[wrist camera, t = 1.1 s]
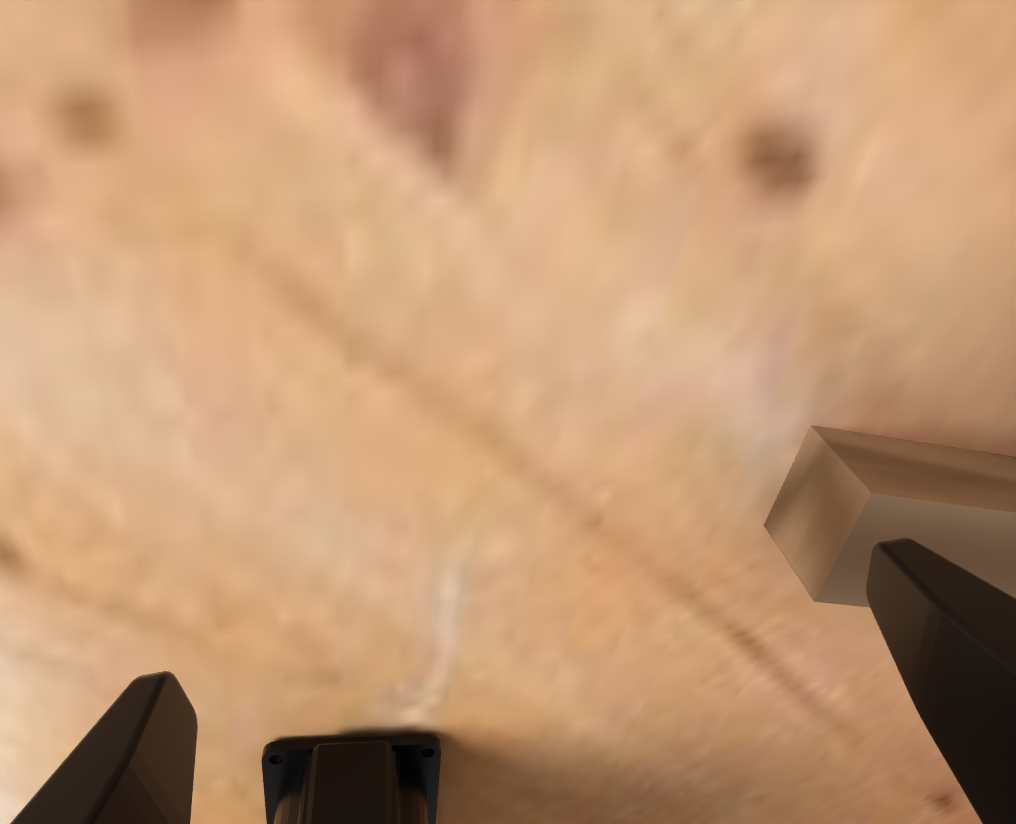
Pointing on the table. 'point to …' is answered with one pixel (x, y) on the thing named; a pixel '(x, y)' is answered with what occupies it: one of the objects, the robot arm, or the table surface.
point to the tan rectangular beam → (892, 509)
